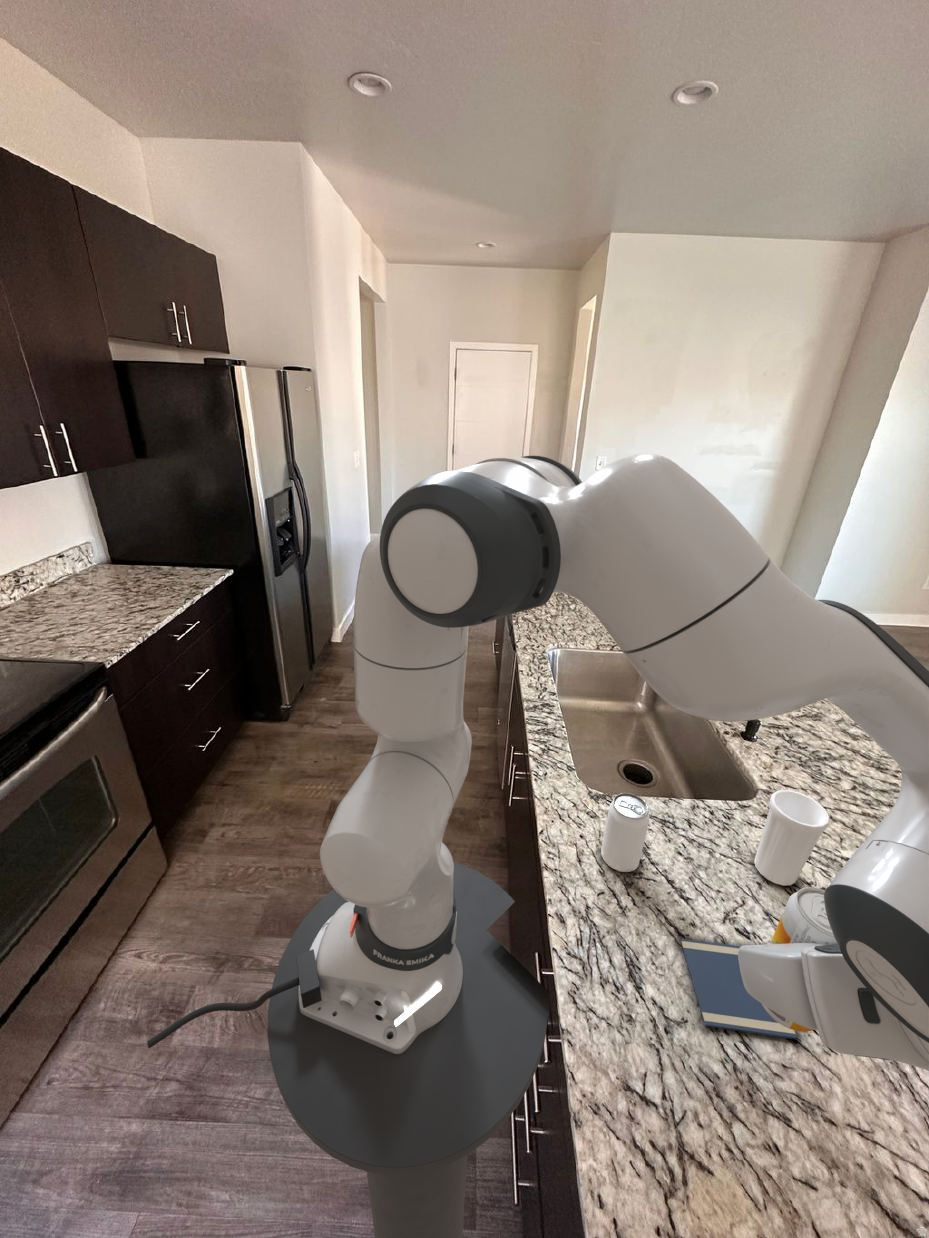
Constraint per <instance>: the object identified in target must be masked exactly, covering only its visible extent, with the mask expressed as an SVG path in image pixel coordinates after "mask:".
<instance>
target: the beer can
mask: <svg viewBox="0 0 929 1238" xmlns="http://www.w3.org/2000/svg"><path fill="white" fill-rule="evenodd" d="M825 890H826V889H822V888H819V887H813V886H807V887H803V888H800V889H799V890H798V891H796V892H794V893H792V894H791V895H789V898H788V900H787V903H786V905H785V907H784V910H783V912H782V914H781V917H780V919H779V921H778V923H777V926H776V929H775V931H774V933H773V936H772V937H771V940H770V941H777V942H778V943H781V944H787V943H820V944H829V945H830V944H836V943H837V942H836V939H835V937H834V935H833V932H832V930H831V927H830V924H829V921H828V917H827V914H826V909H825V904H824V892H825ZM761 1004H762V1003H761ZM762 1005H763V1004H762ZM763 1007H764V1009H765V1010H766V1011H767V1013H768V1014H769V1015H770V1016H771V1017H772V1018H773V1019H774V1020H775V1021H777V1022H778V1023H780V1024H781V1025H783V1026H785V1027H787V1028H789V1029H792V1030H794V1031H796V1032H801V1033H808V1032H811V1031H814V1030H813V1029H809V1028H806V1027H803V1026H801V1025H798V1024H796V1023H794V1022H792V1021H790V1020H788V1019H786V1018H784V1017H783V1016H781V1015H779V1014H778V1013H776V1012H774V1011H773V1010H771V1009H770V1008H768V1007H766V1006H765V1005H763Z"/></svg>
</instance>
